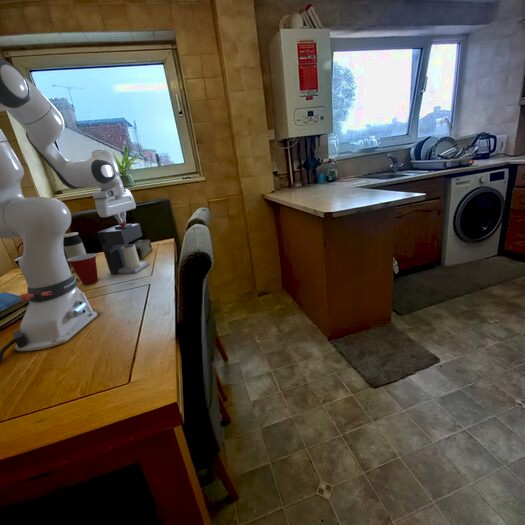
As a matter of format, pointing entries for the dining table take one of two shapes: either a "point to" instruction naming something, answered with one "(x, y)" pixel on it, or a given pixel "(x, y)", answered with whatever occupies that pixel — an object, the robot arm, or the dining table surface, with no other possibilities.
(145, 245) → the beverage carton
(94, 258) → the plastic cup
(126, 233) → the coffee maker
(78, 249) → the travel mug
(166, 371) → the dining table surface
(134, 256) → the creamer cup
